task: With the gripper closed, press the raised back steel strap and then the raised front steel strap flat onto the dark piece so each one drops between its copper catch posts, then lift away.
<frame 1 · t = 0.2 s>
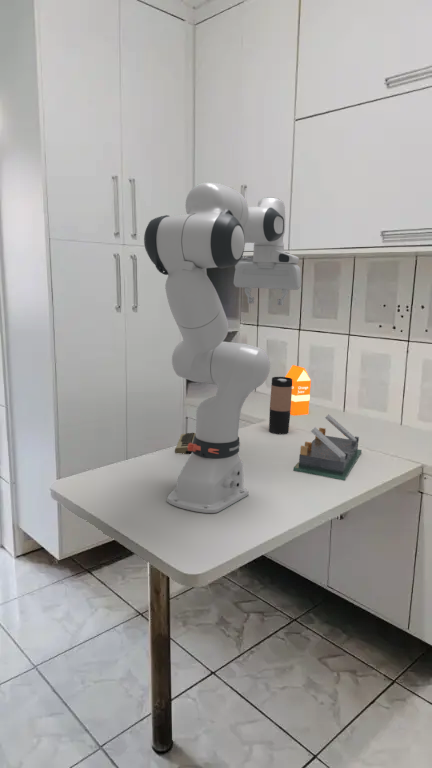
hand: (265, 304, 156), 48 cm above the table, tool pointing down, fingers open, 8 cm apart
strap front: (328, 443, 153), point 9 cm above the table, hinge at 35.0°
computer: (189, 448, 172), on the table
dark piece: (329, 461, 163), on the table
travel mug: (278, 432, 193), on the table
orange juice: (295, 412, 223), on the table
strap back: (341, 428, 169), point 9 cm above the table, hinge at 35.0°
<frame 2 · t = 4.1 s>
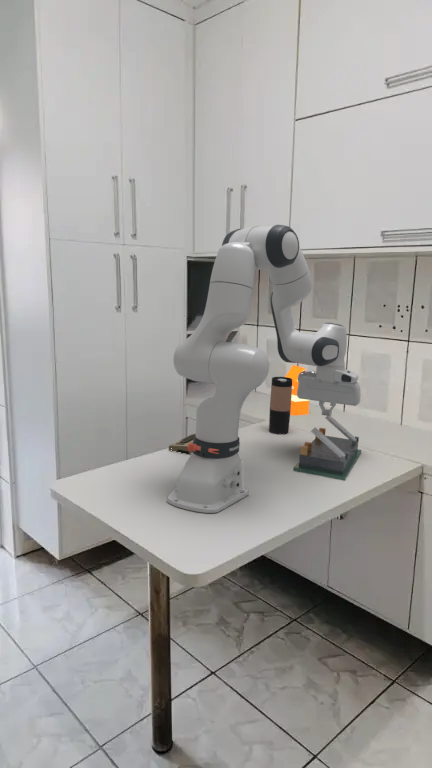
hand: (326, 415, 170), 12 cm above the table, tool pointing down, fingers closed, pressing on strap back
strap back: (341, 428, 169), point 9 cm above the table, hinge at 35.0°, touching gripper
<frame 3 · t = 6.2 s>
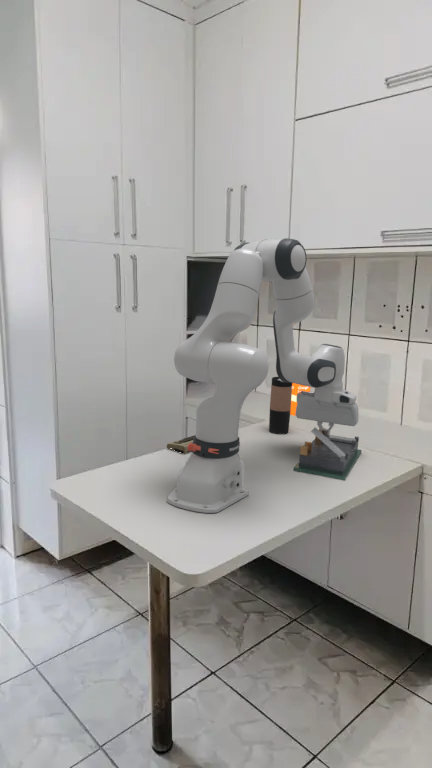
hand: (324, 434, 172), 6 cm above the table, tool pointing down, fingers closed
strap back: (336, 438, 170), point 5 cm above the table, hinge at -0.4°
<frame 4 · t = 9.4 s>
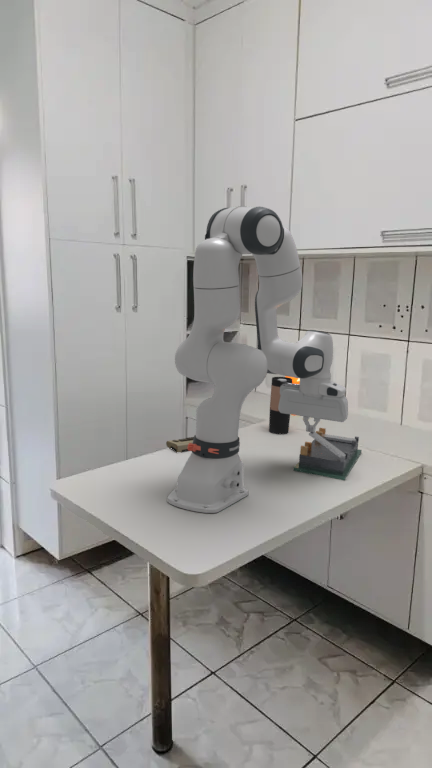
hand: (310, 431, 155), 11 cm above the table, tool pointing down, fingers closed, pressing on strap front
strap front: (327, 444, 153), point 8 cm above the table, hinge at 29.0°, touching gripper
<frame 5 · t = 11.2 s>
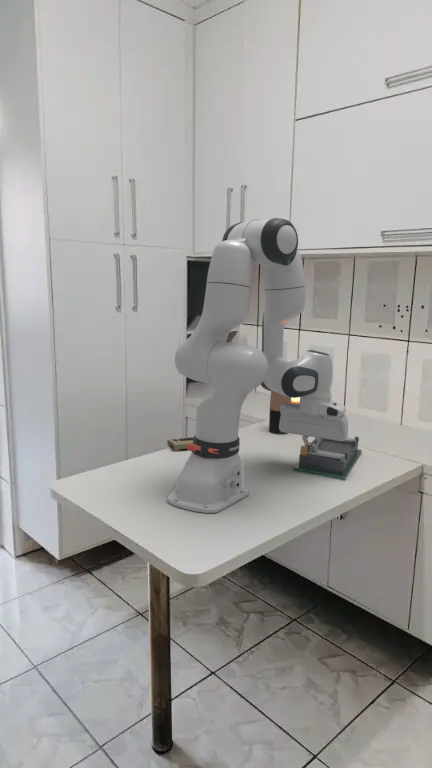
hand: (311, 450, 156), 5 cm above the table, tool pointing down, fingers closed, pressing on strap front
strap front: (323, 453, 154), point 5 cm above the table, hinge at -0.8°, touching gripper
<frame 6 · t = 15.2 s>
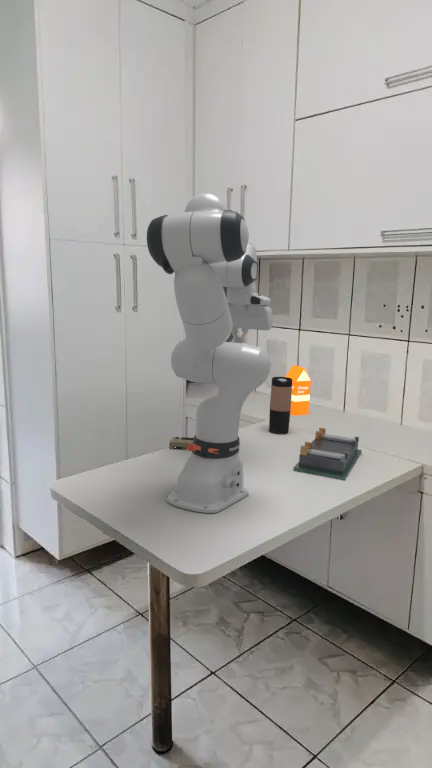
hand: (238, 342, 163), 35 cm above the table, tool pointing down, fingers closed
strap front: (323, 453, 154), point 5 cm above the table, hinge at -0.8°
at the end: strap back at +0° (first picture: +35°); strap front at -1° (first picture: +35°) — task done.
